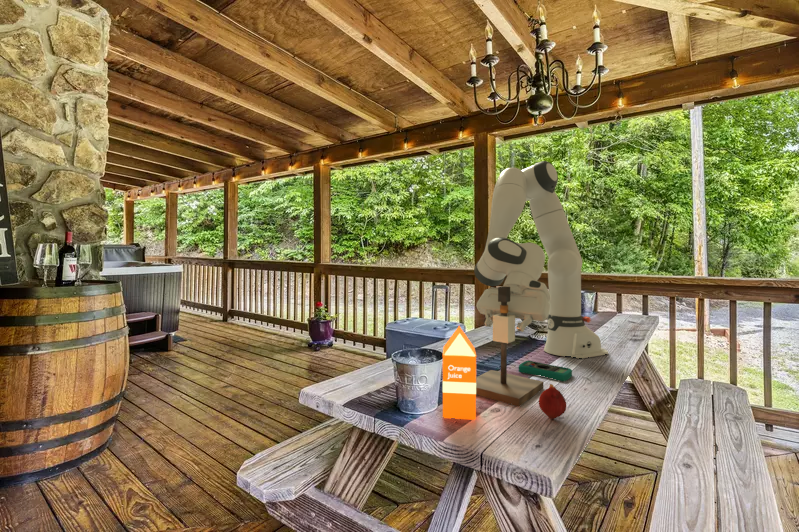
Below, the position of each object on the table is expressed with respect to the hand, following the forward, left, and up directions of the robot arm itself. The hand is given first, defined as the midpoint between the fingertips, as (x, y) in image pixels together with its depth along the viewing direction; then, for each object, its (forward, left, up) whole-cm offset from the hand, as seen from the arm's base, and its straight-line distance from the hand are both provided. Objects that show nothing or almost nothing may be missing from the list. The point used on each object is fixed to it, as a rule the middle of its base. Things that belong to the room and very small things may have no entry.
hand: (503, 327), depth 103 cm
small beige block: (0, 0, -4) cm, 4 cm away
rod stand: (0, 0, -17) cm, 17 cm away
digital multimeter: (-20, -10, -18) cm, 28 cm away
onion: (-2, +19, -18) cm, 26 cm away
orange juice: (+17, +10, -18) cm, 26 cm away
